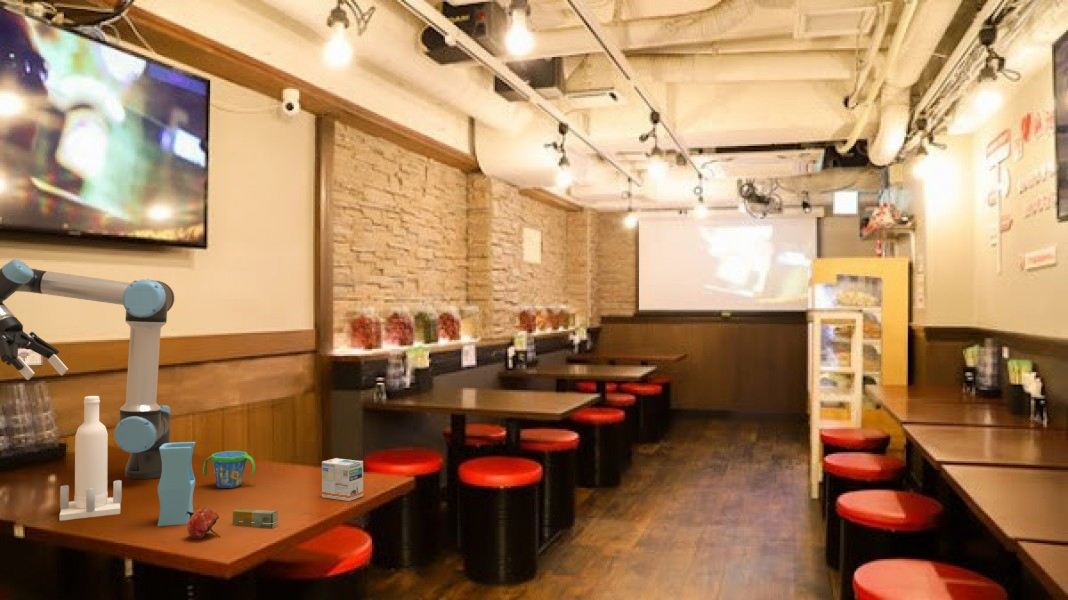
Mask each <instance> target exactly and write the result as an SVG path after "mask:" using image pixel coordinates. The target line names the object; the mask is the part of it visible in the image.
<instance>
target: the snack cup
mask: <svg viewBox="0 0 1068 600" xmlns="http://www.w3.org/2000/svg"><path fill="white" fill-rule="evenodd" d="M209 460H211V462H212V464H213V467H212V468H213V474H214V480H215V481H214V482H215V486H216V487H217V488H218V489H233V488H238V487H241V486H242V484H243V481H244V479H243V478H244V472H245V468H246V464H247V461H249V463H250V464H251V466H252V467H251V474H250V476H251V477H253V476H254V475H255V473H256V462H255V461H254V458H253V457H252V456H250V455H249V454H248V452H246V451H242V450H241V451H239V450H227V451H226V450H224V451H220V452H215V453H212V454H211V455H210V456H209V457H207V458H206V459H205V460H204V463H203V467H202V473H203V476H205V477H206V476H207V475H208V473H209V472H208V467H207V466H208V462H209ZM240 483H241V484H240ZM236 484H238V485H236ZM231 485H232V486H231Z"/></svg>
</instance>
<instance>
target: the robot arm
mask: <svg viewBox="0 0 1068 600" xmlns="http://www.w3.org/2000/svg"><path fill="white" fill-rule="evenodd" d="M16 292H25V293H33V294H41V295H48V296H57V297H63V298H69V299H78V300H85V301H92V302H99V303H100V302H101V303H106V304H107V303H108V304H115V305H121V306H123V307H124V310H125V323H126V324H127V325H128V326H129V327H130V328H129V331H130V332H129V344H128V345H129V346H128V363H127V379H126V393H125V395H126V396H125V403H124V404H123V405H122V406H121V407H119V417H118V423H117V424H116V426H115V428H114V431H113V437H114V441H115V443H116V445H117V446H118V447H119V448H120V449H121V450H123V451H124V452H127V453H130V455H129V458H128V461H127V463H126V467H125V468H124V477H125V478H127V479H131V480H147V479H158V478H161V473H162V460H161V454H160V450H159V448H160V447H161V446H162V445H163V444H165V443H171V417H172V414H171V408H170V406H169V405H159V404H158V403H157V395H158V394H157V393H158V382H159V381H158V379H159V364H160V363H159V362H160V348H161V346H160V345H161V329H162V328H163V326H165V325H166V324H167V321H168V319H167V318H168V312H170V310H171V309H172V307H173V306H174V303H175V293H174V291H173V289H172V288H171V287H170V286H169V285H168V284H167V283H165V282H163V281H160V280H154V279H149V278H148V279H140V280H133V281H132V282H127V281H126V282H125V281H121V280H114V279H113V280H112V279H105V278H98V277H91V276H85V275H84V276H83V275H77V274H70V273H65V272H63V273H62V272H55V271H47V270H40V269H37V268H31V267H29V265H27V264H26V263H25V262H23V261H21V260H20V259H15V258H14V259H12V260H10V261H9V262H7V263H5V264H4V265H3V266H2V267H1V268H0V359H1V360H0V361H1V362H3V363H5V364H6V365H7V366H11V365H12V366H13V367H14V368H15V369H16V370H17V371H18V372H19V373H20V375H22V376H23V378H24V379H25V380H26V381H29V380H30V379H31V378H32V377H33V376H34V375H35V374H36V373H35V371H34V370H33V369H32V368H31V367H30V365H28V364H27V363H26V361H25V360H24V359H23V358H22V357H21V356H19V357H18V352H19V351H18V349H25V350H27V351H28V350H30V351H32V352H34V353H37V354H38V355H40V356H42V357H44V358H46V359H47V362H48V363H49V364H50V365H51V366H52V367H53V368H54V369H55V371H56V372H57V373H58V374H59V375H60V376H64V375H65V374H66V372H67V371H68V370H69V368H68V367H67V366H66V364H64V362H63V361H62V360H61V359H60V358H59V356H58V354H60V350H59V349H57V348H55V347H54V346H52V345H51V344H50V343H48V342H47V341H45V340H43V338H41V337H39V336H38V335H37V334H36V333H35V332H33V331H31V332H29V334H28V333H26V332H25V331H24V330H23V329H24V325H23V324H22V322H21V321H20V320H19V319H18V318H17V317H16V316H15V314H14V313H13V312H12V311H11V310H10V309H9V308H8V307H7V305H5V304H4V302H5V301H6V300H7V299H8V298H10V297H11V296H12V295H13V294H15V293H16Z"/></svg>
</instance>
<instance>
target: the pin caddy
mask: <svg viewBox="0 0 1068 600" xmlns="http://www.w3.org/2000/svg"><path fill="white" fill-rule="evenodd" d="M122 481H123V480H120V479H117V480H114V481H113V486H112V487H113V488H112V489H113V491H112V492H113V494H112V495H113V496H112V497H111V496H110V497H108V498H107V504H106V505H104V506H101V507H97V508H95V488H87V489H86V509H79V508H76V507H75V502H74V500H73V501H70V499H69V498H70V485H68V484H67V485H66V484H64V485H61V486H59V488H60V490H59V509H60V512H59V521H60V522H62V521H68V520H69V521H70V520H77V519H87V518H97V517H104V516H113V515H120V514H121V503H122V497H123V496H122V495H123V494H122V490H123V489H122V488H123V487H122V486H123V485H122V484H123V483H122Z"/></svg>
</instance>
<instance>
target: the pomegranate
mask: <svg viewBox="0 0 1068 600" xmlns="http://www.w3.org/2000/svg"><path fill="white" fill-rule="evenodd" d="M186 514H189V515H190V518H189V521H188V522H187V524H185V525H186V531H187V533H188V535H189V536H190V537H191V538H193V539H197V540H201V539H202V538H203V537H204V536H205V535H206V534H208V532H211V533H212V534H215V535H216V536H217V537H219V538H220V536H221V535H219V534H218V532H215V531H214V530H213V529H212V528H213V526H215V524H216V523H217V521H218V520H219V519H220V515H219V513H218V512H217V511H216V510H215V509H213V508H210V507H202V508H199V509H197V511H195V512H193V513H192V512H189V511H188V512H187V513H186Z"/></svg>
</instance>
